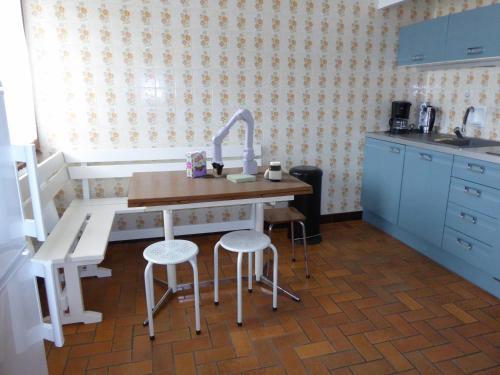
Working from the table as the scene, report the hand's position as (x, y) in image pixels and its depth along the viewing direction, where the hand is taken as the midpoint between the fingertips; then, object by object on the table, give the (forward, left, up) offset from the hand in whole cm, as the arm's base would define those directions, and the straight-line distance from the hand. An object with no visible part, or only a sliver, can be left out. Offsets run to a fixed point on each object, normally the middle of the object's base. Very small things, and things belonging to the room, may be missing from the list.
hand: (217, 174), depth 258 cm
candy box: (+12, -8, -2) cm, 15 cm away
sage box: (-9, +17, -2) cm, 19 cm away
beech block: (0, 0, -1) cm, 1 cm away
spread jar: (-26, +28, -2) cm, 38 cm away
